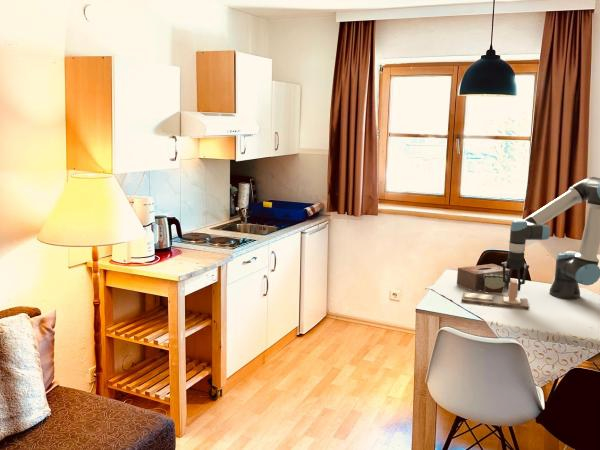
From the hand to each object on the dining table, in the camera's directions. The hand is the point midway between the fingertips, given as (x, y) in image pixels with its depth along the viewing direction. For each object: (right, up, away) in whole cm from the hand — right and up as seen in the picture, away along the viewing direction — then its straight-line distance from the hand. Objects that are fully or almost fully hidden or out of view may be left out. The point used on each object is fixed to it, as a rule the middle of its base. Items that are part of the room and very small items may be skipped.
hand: (512, 296), depth 304 cm
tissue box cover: (-5, +2, +33) cm, 34 cm away
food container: (-3, 0, +22) cm, 23 cm away
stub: (0, -2, 0) cm, 2 cm away
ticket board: (-8, -3, +3) cm, 9 cm away
